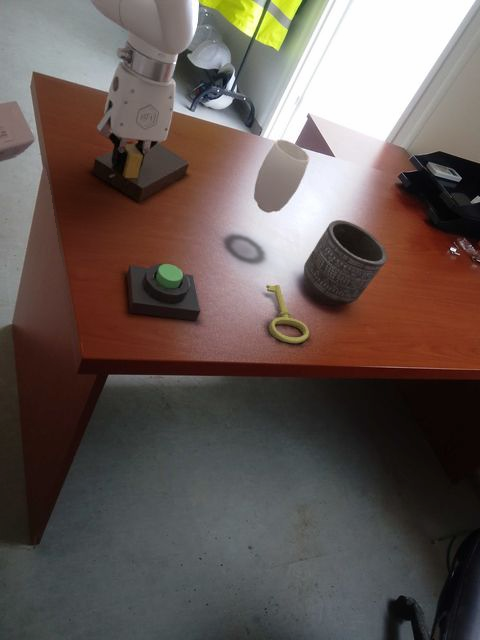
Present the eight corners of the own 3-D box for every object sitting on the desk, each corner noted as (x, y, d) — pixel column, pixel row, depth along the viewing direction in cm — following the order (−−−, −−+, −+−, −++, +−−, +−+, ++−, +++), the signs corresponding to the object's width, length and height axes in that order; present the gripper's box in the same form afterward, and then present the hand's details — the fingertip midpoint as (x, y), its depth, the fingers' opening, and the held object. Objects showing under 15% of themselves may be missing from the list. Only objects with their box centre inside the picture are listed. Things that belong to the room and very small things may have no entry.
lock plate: (130, 207, 82) (134, 191, 80) (83, 177, 82) (85, 161, 79) (185, 175, 97) (189, 161, 95) (145, 150, 97) (149, 136, 95)
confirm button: (156, 287, 65) (159, 278, 64) (154, 270, 68) (157, 261, 66) (180, 291, 67) (184, 282, 66) (177, 274, 69) (181, 266, 68)
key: (273, 290, 83) (278, 282, 82) (310, 341, 78) (316, 333, 77) (242, 294, 79) (247, 285, 77) (280, 348, 74) (285, 340, 72)
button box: (129, 313, 65) (135, 292, 62) (126, 275, 70) (132, 255, 67) (196, 321, 70) (204, 302, 67) (189, 285, 74) (196, 266, 72)
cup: (220, 244, 86) (265, 141, 72) (239, 232, 91) (284, 134, 77) (250, 266, 85) (301, 167, 71) (268, 253, 90) (318, 158, 77)
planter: (309, 263, 95) (341, 212, 86) (357, 298, 94) (394, 249, 85) (285, 286, 85) (318, 231, 77) (338, 325, 84) (377, 274, 76)
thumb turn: (137, 178, 83) (143, 154, 80) (125, 178, 81) (130, 153, 78) (125, 162, 85) (130, 138, 82) (113, 161, 83) (118, 137, 80)
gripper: (110, 66, 64) (90, 180, 76) (204, 84, 74) (173, 182, 87) (88, 39, 67) (72, 154, 79) (181, 61, 77) (155, 159, 89)
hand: (125, 168), depth 83 cm, fingers closed on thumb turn, 2 cm apart
